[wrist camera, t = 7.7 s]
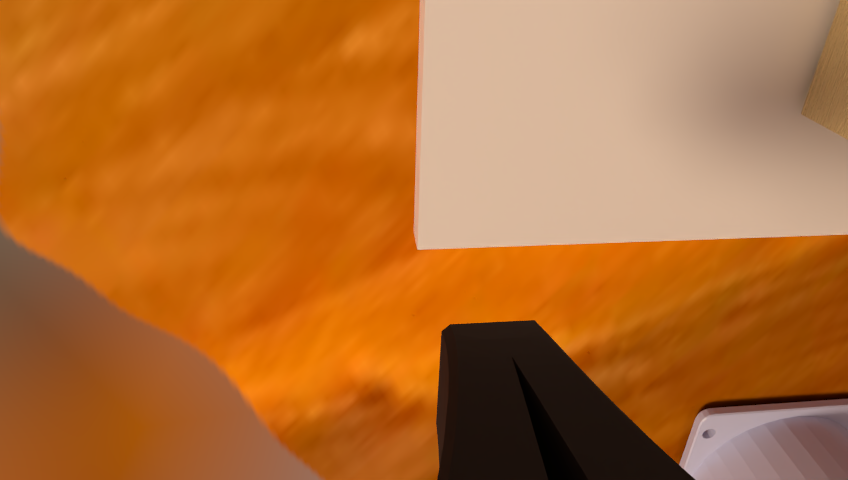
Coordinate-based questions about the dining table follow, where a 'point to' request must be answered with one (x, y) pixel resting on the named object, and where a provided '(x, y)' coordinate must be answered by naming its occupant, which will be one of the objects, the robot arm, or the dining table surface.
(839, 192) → the door panel
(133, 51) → the dining table surface
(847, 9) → the block
